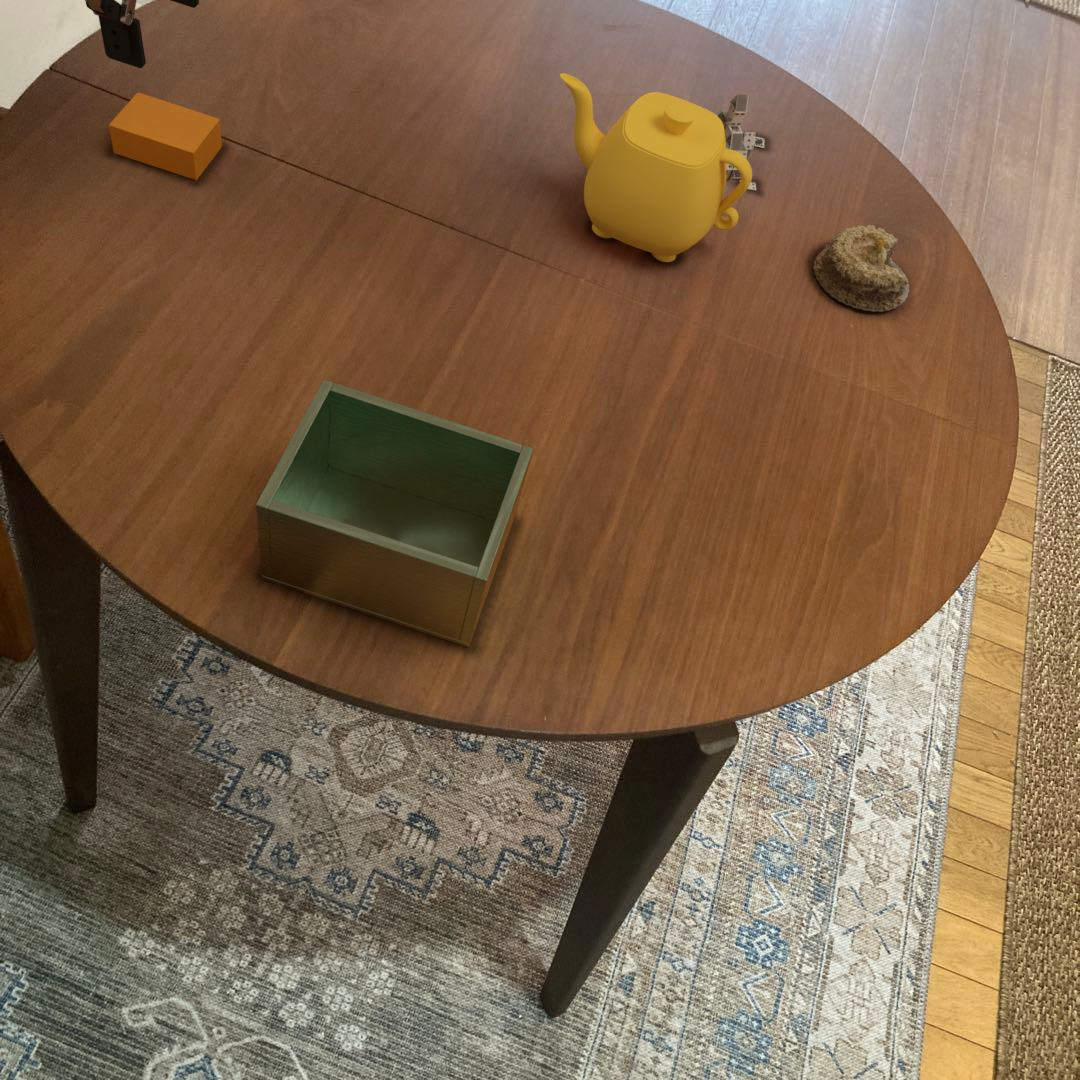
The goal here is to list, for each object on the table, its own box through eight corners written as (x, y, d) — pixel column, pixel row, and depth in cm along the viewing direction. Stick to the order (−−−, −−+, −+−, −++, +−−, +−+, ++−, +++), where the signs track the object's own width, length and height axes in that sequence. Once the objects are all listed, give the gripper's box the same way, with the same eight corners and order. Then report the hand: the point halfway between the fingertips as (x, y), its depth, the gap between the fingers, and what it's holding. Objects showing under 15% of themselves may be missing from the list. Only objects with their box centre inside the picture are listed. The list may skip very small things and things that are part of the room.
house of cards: (790, 190, 110) (819, 128, 104) (715, 190, 108) (740, 127, 102) (762, 136, 115) (788, 73, 109) (690, 135, 113) (712, 71, 106)
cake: (823, 316, 101) (842, 274, 97) (801, 246, 107) (817, 203, 102) (920, 317, 103) (942, 275, 98) (893, 248, 108) (913, 206, 104)
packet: (113, 153, 95) (108, 124, 93) (142, 120, 98) (137, 91, 96) (196, 180, 95) (193, 153, 93) (222, 146, 98) (220, 118, 96)
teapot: (706, 297, 99) (752, 188, 88) (513, 219, 100) (536, 102, 89) (739, 214, 107) (786, 105, 96) (560, 143, 108) (587, 27, 97)
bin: (261, 579, 74) (255, 504, 66) (322, 459, 81) (323, 378, 73) (468, 647, 74) (486, 580, 66) (512, 522, 81) (534, 448, 73)
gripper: (130, -258, 78) (159, -33, 92) (3, -164, 68) (58, 71, 82) (225, -227, 78) (240, -7, 92) (112, -128, 68) (148, 101, 82)
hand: (154, 30), depth 87 cm, fingers open, 9 cm apart
